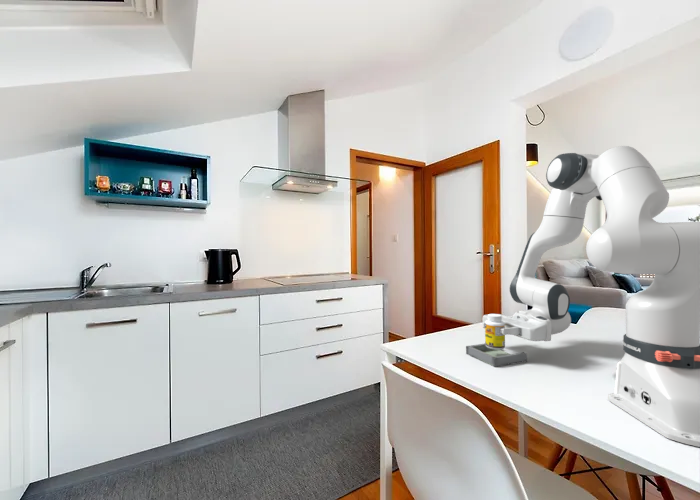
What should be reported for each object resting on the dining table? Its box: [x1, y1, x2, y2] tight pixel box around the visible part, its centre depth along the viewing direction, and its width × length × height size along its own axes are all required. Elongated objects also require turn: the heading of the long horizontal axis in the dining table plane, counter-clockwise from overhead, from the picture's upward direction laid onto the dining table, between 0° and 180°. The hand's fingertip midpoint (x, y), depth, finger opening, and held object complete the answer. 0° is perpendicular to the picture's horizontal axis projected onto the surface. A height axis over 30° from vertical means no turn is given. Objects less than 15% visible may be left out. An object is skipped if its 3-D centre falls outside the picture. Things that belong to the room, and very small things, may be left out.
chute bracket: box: [465, 343, 527, 368], centre depth 96 cm, size 12×12×2 cm
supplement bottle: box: [484, 313, 506, 351], centre depth 96 cm, size 6×6×10 cm
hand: (492, 328), depth 96 cm, fingers closed on supplement bottle, 6 cm apart
